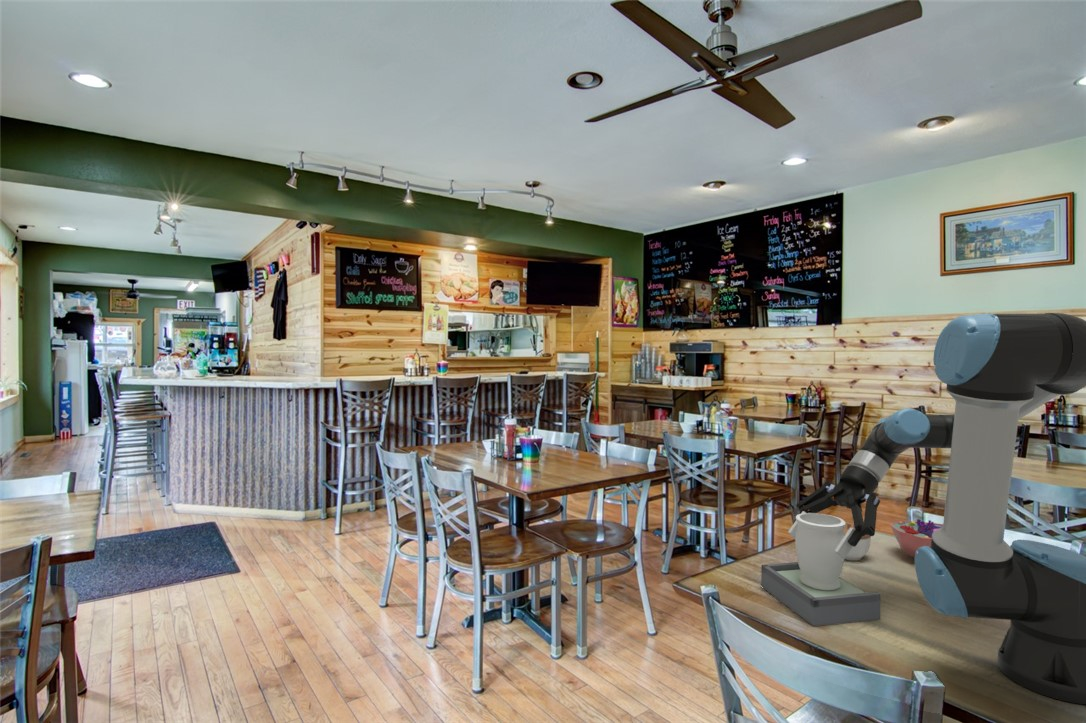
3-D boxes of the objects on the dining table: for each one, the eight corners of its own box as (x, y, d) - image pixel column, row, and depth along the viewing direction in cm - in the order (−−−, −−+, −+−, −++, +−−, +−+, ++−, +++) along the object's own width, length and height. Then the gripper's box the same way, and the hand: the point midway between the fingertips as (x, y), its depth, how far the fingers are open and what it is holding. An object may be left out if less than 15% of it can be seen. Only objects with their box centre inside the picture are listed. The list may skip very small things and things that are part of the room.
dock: (880, 619, 123) (880, 594, 123) (813, 626, 120) (813, 600, 120) (820, 581, 143) (820, 560, 143) (761, 587, 140) (761, 564, 140)
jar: (851, 595, 125) (852, 527, 125) (801, 591, 128) (801, 524, 127) (837, 576, 136) (837, 513, 135) (790, 572, 138) (791, 511, 138)
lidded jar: (821, 556, 160) (821, 523, 160) (836, 547, 168) (836, 515, 167) (862, 566, 152) (863, 532, 152) (876, 556, 160) (876, 523, 159)
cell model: (907, 544, 170) (907, 506, 169) (988, 565, 153) (988, 523, 153) (878, 556, 160) (878, 516, 160) (960, 580, 144) (961, 535, 143)
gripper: (922, 496, 125) (871, 574, 120) (829, 473, 149) (783, 538, 144) (904, 474, 123) (852, 553, 118) (813, 455, 147) (766, 519, 142)
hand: (814, 545), depth 131 cm, fingers open, 13 cm apart
